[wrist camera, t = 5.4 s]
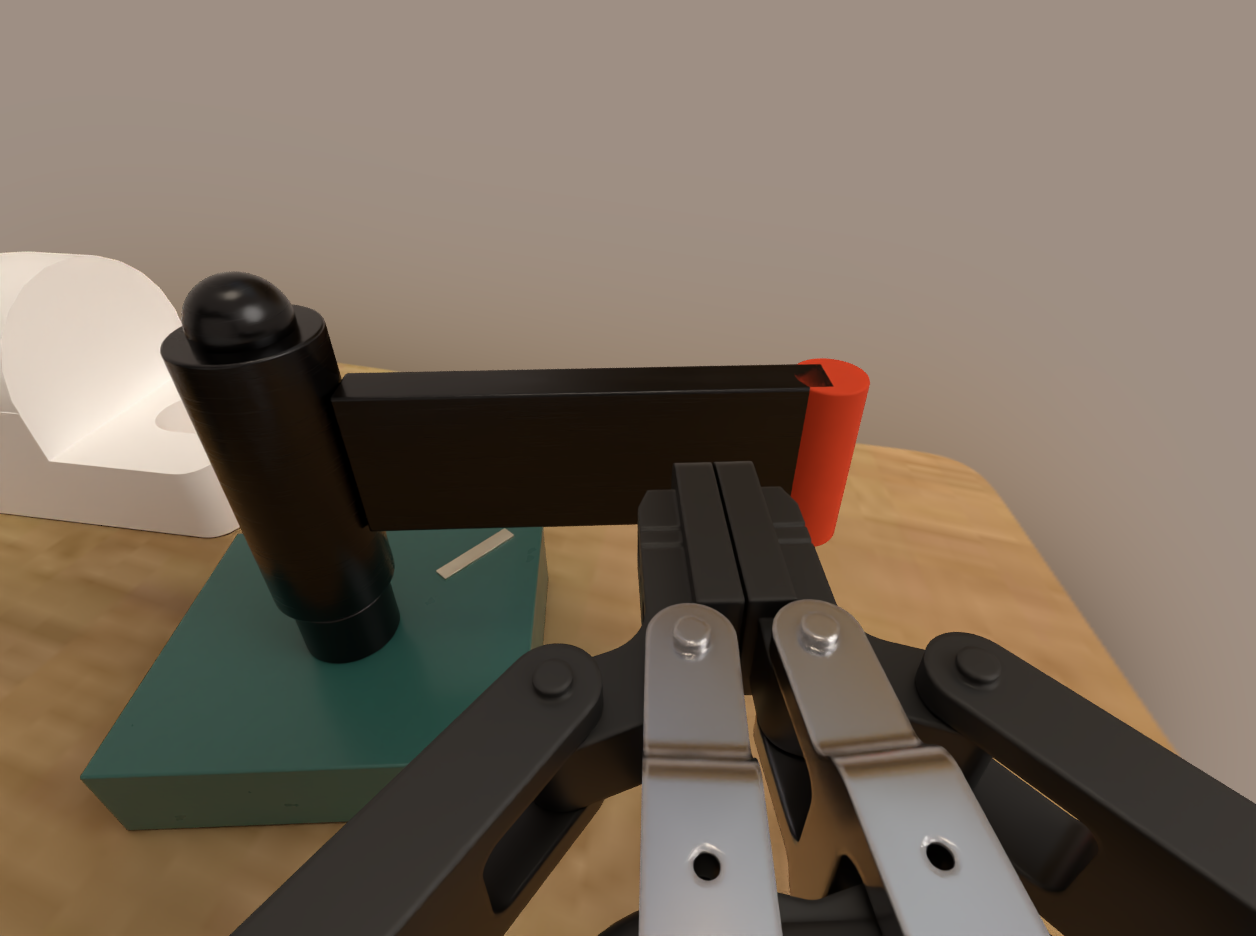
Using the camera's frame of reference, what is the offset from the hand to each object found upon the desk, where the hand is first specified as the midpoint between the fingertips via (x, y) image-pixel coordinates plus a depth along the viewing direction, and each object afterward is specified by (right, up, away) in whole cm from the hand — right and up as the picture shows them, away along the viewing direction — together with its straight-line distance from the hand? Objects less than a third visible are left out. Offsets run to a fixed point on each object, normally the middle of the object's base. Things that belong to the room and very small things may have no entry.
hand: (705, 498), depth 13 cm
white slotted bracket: (-28, +1, +22) cm, 36 cm away
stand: (-11, -7, +11) cm, 17 cm away
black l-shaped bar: (-4, -3, +8) cm, 9 cm away
